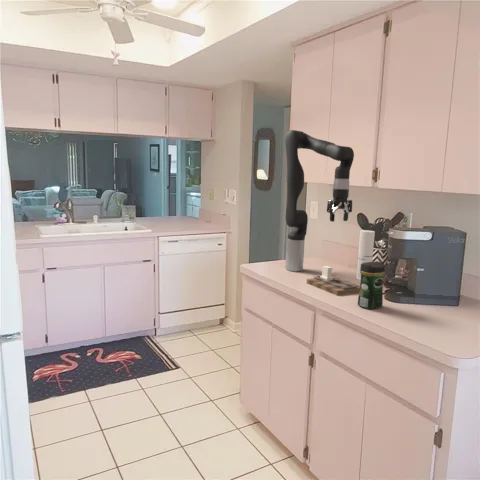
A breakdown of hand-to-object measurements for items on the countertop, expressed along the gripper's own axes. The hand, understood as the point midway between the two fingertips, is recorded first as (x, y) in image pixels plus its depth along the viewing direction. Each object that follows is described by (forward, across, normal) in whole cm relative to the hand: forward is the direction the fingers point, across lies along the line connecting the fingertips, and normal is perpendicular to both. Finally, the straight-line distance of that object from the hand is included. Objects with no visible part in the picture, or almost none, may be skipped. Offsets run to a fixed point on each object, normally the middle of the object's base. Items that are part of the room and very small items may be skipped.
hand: (338, 221), depth 202 cm
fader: (+28, +9, +4) cm, 29 cm away
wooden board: (+30, +9, +10) cm, 33 cm away
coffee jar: (+30, +15, +38) cm, 51 cm away
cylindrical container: (+30, -16, +4) cm, 34 cm away
